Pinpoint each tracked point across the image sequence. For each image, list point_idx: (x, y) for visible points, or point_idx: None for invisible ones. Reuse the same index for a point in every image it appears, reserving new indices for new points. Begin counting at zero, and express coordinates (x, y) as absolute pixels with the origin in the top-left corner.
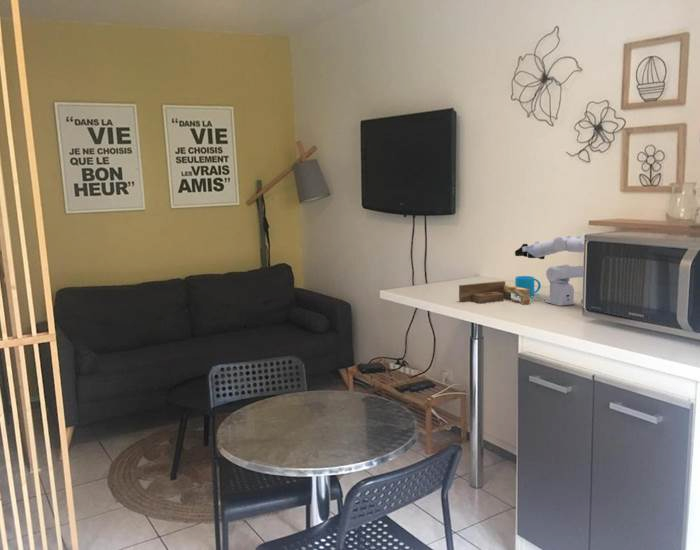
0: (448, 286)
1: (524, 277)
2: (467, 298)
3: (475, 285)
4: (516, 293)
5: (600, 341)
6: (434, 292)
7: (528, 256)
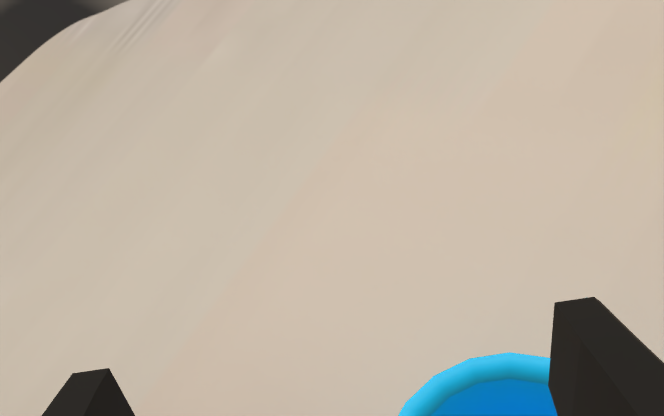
0: (236, 27)
1: None
2: None
3: None
4: None
5: None
6: (54, 162)
7: (556, 386)
